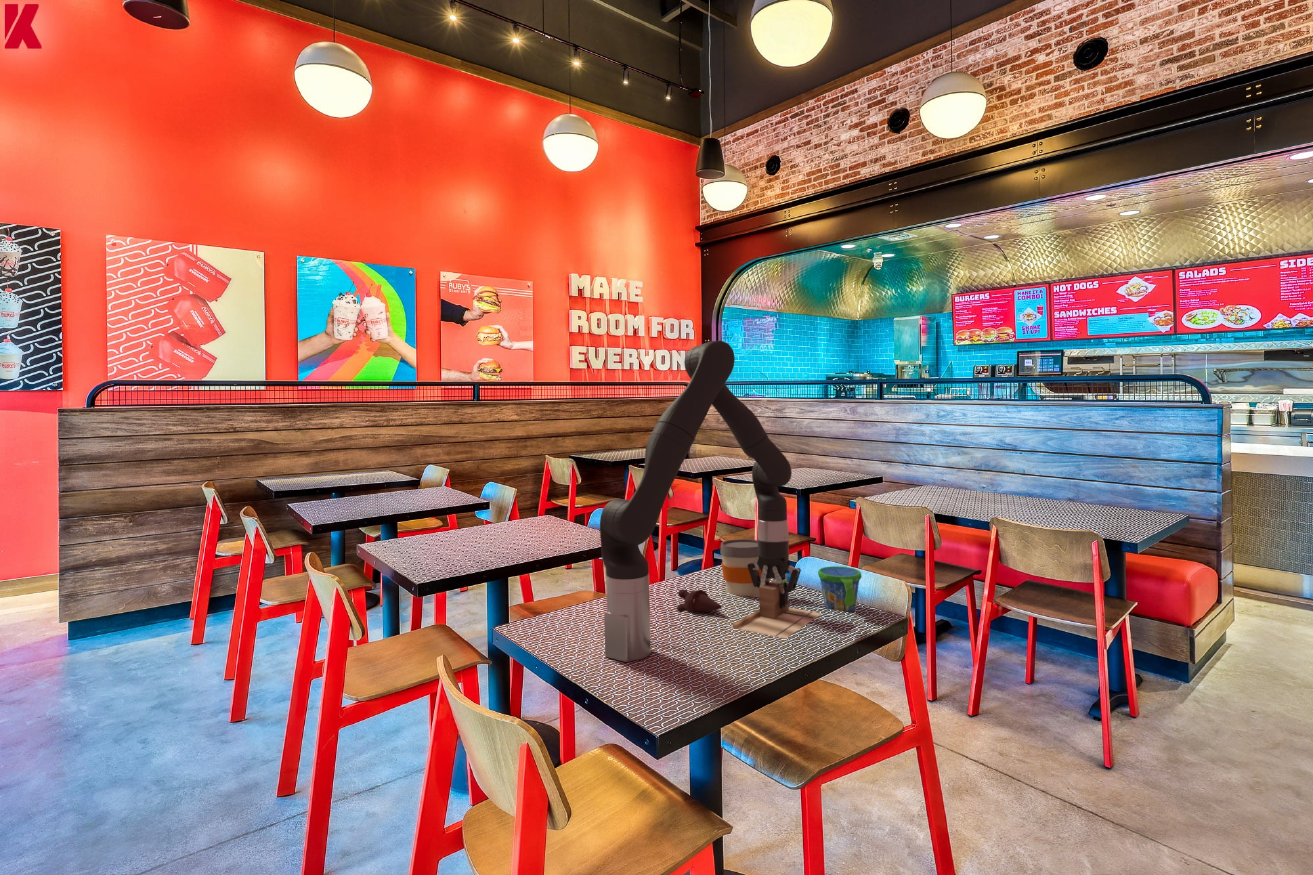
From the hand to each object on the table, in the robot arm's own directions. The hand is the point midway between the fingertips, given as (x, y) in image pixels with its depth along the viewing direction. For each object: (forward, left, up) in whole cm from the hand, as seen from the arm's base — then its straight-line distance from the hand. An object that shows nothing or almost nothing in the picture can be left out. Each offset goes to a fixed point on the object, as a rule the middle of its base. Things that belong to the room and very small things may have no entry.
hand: (774, 605), depth 157 cm
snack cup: (+16, -11, -4) cm, 19 cm away
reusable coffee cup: (+14, +16, -4) cm, 21 cm away
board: (-4, -3, -3) cm, 6 cm away
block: (0, 0, -2) cm, 2 cm away
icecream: (-8, +17, -4) cm, 19 cm away
